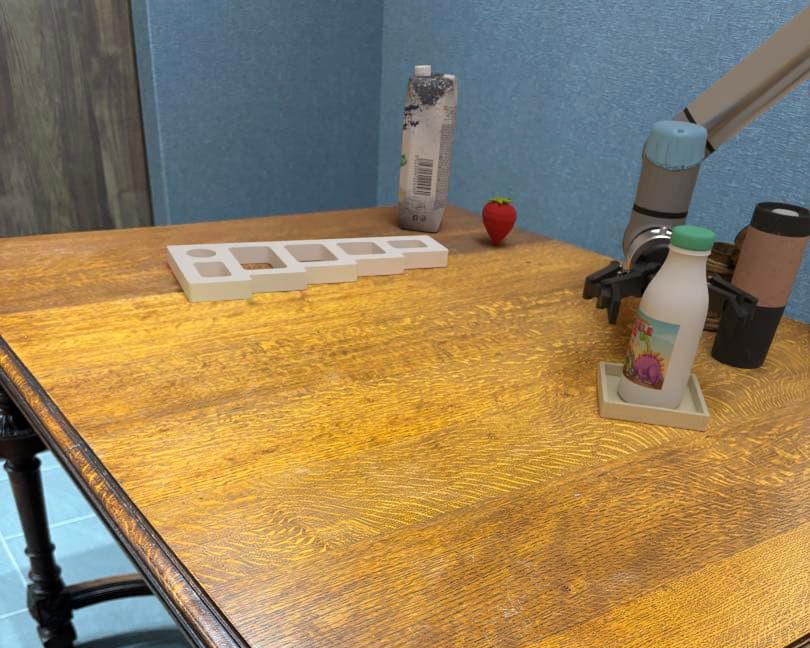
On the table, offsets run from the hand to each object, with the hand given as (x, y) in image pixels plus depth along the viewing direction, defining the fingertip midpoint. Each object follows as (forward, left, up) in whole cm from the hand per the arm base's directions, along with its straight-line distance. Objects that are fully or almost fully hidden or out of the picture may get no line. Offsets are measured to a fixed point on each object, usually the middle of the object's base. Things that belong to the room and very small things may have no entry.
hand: (676, 321), depth 90 cm
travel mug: (-14, -22, -12) cm, 29 cm away
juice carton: (+38, -71, -12) cm, 82 cm away
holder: (+49, -35, -12) cm, 62 cm away
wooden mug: (-12, -34, -12) cm, 38 cm away
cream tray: (0, -3, -12) cm, 12 cm away
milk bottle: (0, -3, -11) cm, 12 cm away
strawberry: (+23, -64, -12) cm, 69 cm away
